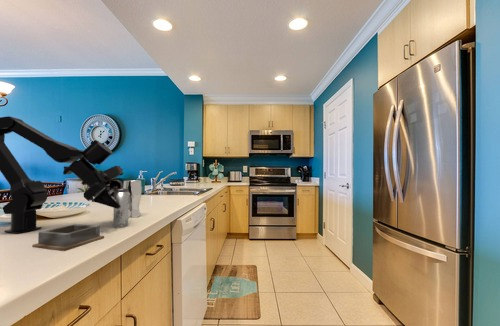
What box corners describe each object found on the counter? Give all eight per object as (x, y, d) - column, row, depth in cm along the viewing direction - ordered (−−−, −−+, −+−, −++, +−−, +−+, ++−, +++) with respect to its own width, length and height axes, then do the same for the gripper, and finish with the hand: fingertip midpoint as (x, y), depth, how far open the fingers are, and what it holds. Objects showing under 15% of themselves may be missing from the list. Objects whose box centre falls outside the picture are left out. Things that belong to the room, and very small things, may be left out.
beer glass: (133, 218, 93) (134, 181, 94) (118, 217, 95) (119, 181, 95) (144, 215, 100) (145, 180, 101) (130, 214, 102) (131, 180, 102)
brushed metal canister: (110, 227, 79) (110, 189, 79) (120, 224, 83) (121, 188, 84) (120, 228, 78) (121, 189, 78) (131, 225, 82) (131, 188, 82)
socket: (32, 247, 59) (32, 232, 59) (75, 235, 70) (75, 223, 70) (64, 251, 56) (64, 236, 56) (104, 238, 67) (104, 225, 67)
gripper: (95, 156, 71) (133, 191, 73) (117, 159, 89) (147, 186, 91) (65, 182, 69) (106, 217, 71) (94, 179, 88) (125, 207, 90)
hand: (123, 205), depth 81 cm, fingers open, 9 cm apart
